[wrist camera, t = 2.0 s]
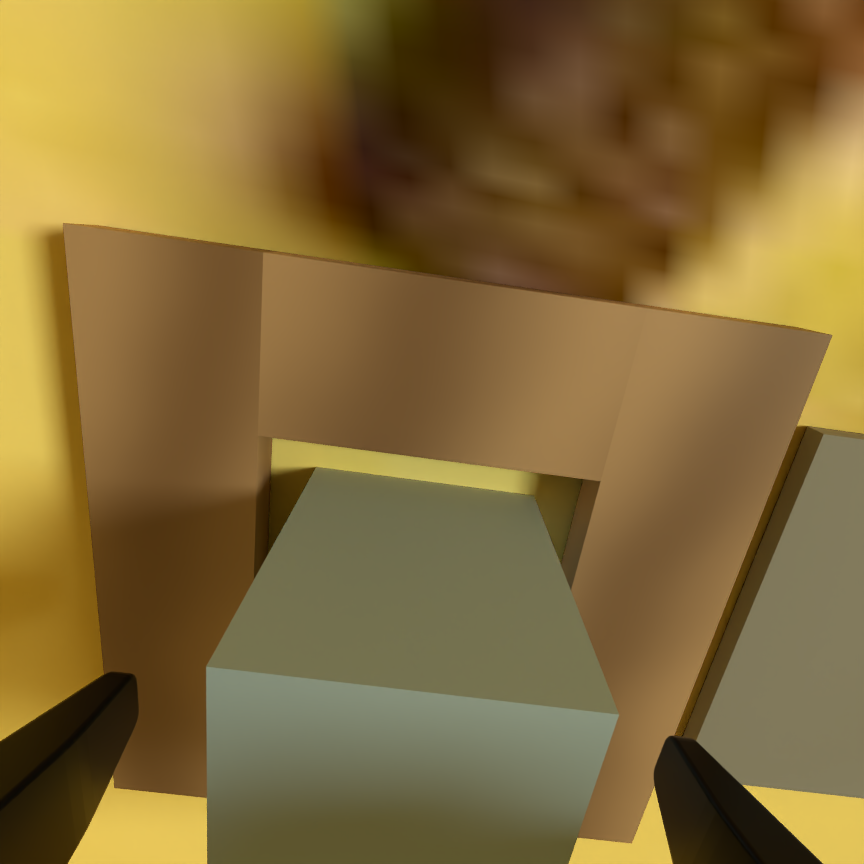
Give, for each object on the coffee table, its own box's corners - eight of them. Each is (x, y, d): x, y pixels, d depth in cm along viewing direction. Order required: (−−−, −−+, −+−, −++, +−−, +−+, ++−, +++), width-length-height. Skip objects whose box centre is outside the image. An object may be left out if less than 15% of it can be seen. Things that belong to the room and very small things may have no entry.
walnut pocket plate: (796, 327, 11) (832, 335, 10) (619, 806, 15) (631, 843, 14) (97, 225, 10) (63, 223, 9) (135, 753, 15) (114, 788, 14)
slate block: (533, 494, 12) (618, 714, 6) (494, 665, 14) (535, 959, 8) (316, 465, 12) (205, 666, 6) (303, 642, 13) (207, 928, 8)
